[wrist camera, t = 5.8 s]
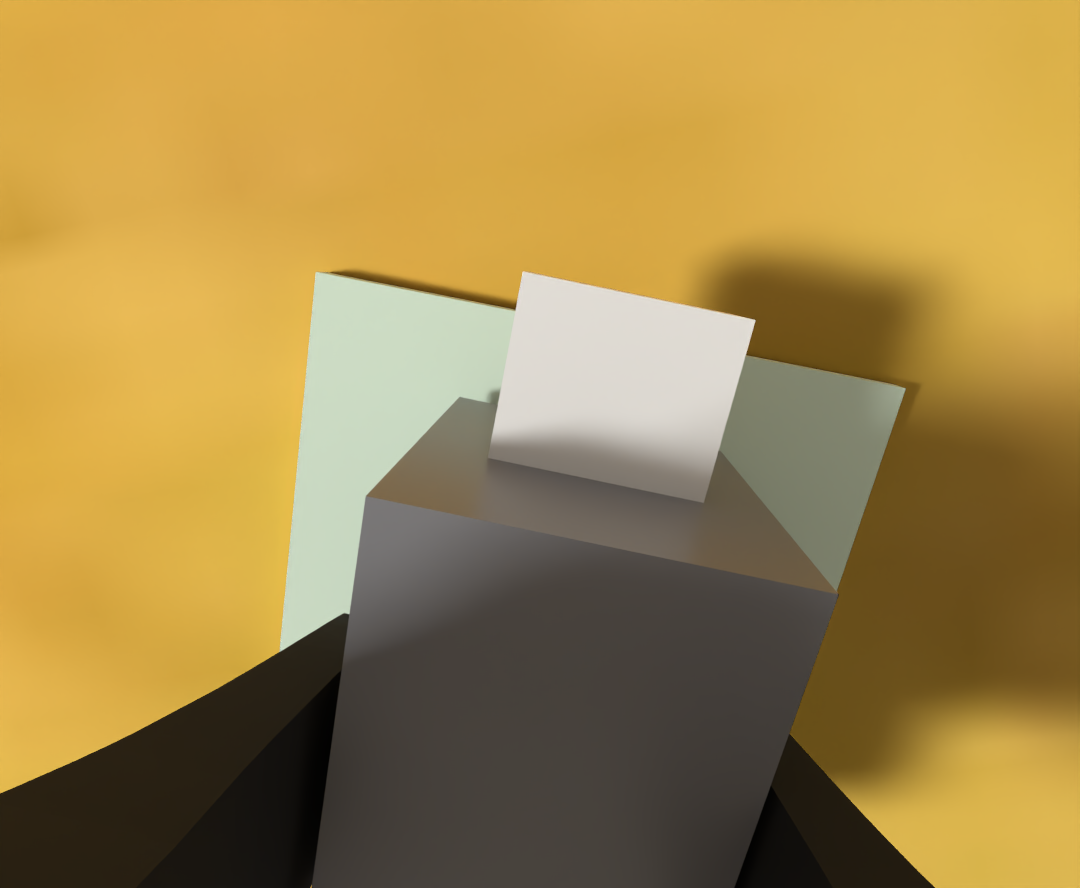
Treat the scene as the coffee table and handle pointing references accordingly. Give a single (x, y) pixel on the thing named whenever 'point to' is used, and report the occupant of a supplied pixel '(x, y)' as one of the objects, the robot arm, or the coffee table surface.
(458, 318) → the mat
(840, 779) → the coffee table surface
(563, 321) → the grey power adapter
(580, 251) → the coffee table surface
